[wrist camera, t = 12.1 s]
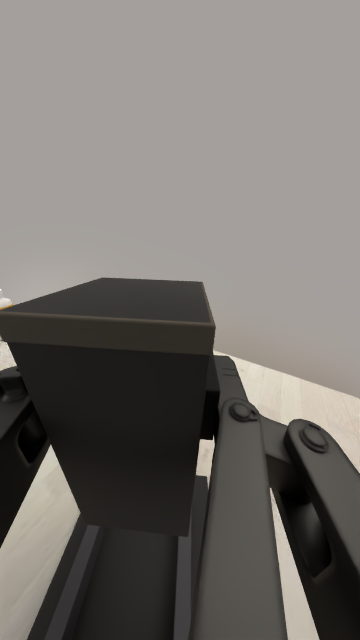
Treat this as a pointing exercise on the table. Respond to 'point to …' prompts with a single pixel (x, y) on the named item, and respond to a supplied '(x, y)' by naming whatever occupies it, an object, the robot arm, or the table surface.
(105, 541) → the pad
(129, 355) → the dark capped pillar
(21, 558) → the table surface
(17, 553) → the table surface
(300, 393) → the table surface
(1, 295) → the supplement bottle
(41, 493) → the table surface
